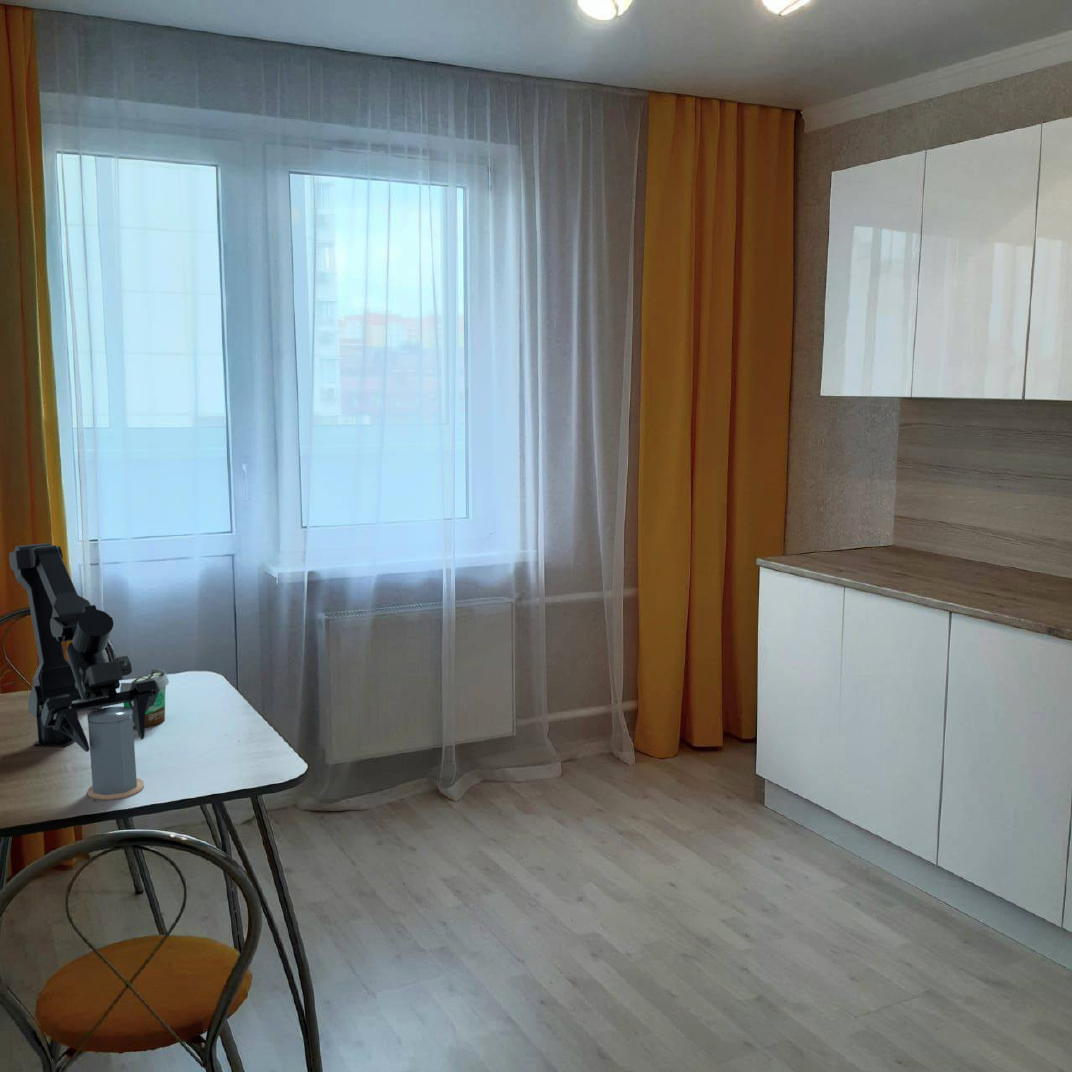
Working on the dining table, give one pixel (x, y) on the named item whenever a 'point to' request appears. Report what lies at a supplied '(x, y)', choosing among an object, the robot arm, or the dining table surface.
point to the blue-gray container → (112, 750)
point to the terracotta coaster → (117, 796)
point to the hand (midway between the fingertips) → (115, 744)
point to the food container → (156, 711)
